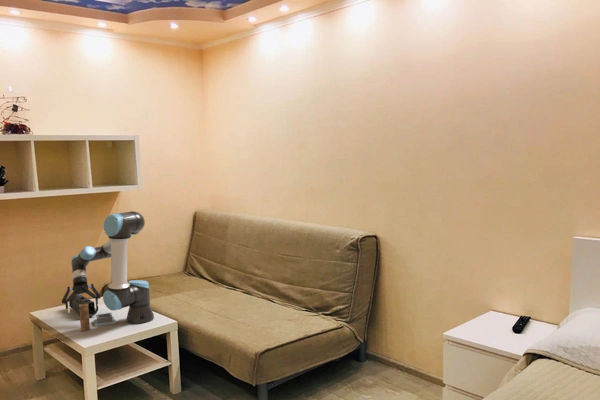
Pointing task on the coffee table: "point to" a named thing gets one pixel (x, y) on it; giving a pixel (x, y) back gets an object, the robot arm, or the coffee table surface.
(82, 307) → the walnut post
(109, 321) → the socket stand
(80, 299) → the muzzle brake
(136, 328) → the coffee table surface
